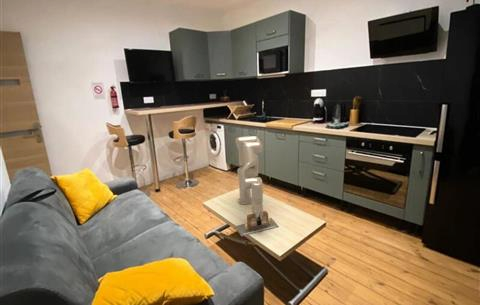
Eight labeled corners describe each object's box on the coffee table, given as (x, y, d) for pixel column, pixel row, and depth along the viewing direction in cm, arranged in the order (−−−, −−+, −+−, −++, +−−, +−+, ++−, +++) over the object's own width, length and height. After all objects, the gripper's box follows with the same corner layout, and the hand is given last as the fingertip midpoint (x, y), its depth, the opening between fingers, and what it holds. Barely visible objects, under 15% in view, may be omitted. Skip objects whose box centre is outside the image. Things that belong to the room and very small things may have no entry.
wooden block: (247, 225, 165) (246, 214, 163) (265, 220, 169) (265, 210, 167) (249, 228, 161) (249, 217, 159) (268, 223, 165) (268, 213, 163)
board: (235, 227, 169) (234, 219, 168) (271, 219, 178) (271, 211, 176) (241, 238, 157) (241, 229, 156) (279, 228, 166) (279, 220, 164)
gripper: (247, 195, 166) (248, 218, 171) (256, 206, 151) (257, 231, 156) (257, 193, 169) (258, 216, 174) (267, 203, 153) (267, 228, 158)
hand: (257, 223), depth 165 cm, fingers closed on wooden block, 4 cm apart
